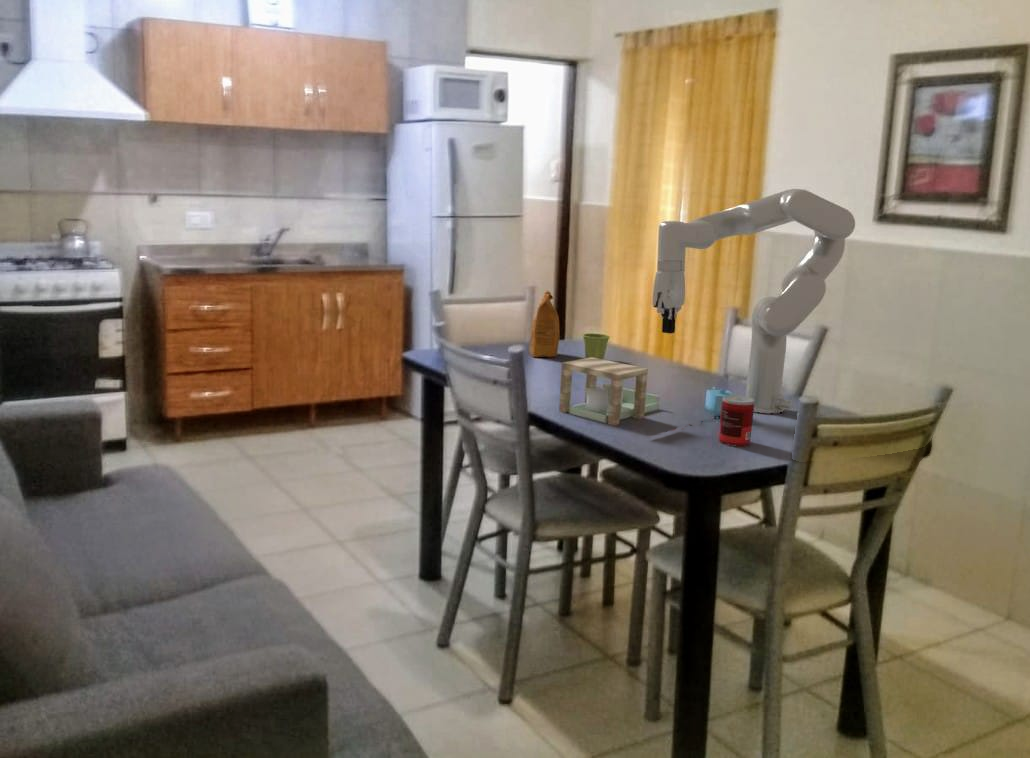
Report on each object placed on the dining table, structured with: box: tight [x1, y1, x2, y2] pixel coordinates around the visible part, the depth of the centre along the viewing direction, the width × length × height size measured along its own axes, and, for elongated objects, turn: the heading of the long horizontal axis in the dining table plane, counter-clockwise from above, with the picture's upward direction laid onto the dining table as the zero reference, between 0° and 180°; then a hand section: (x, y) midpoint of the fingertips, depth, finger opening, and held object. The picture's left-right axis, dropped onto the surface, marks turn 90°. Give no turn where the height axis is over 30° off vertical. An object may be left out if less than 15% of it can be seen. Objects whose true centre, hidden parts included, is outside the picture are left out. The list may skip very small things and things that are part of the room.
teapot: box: [704, 386, 736, 418], centre depth 266 cm, size 12×6×8 cm, turn 10°
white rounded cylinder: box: [586, 386, 608, 415], centre depth 254 cm, size 5×5×7 cm
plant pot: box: [581, 332, 611, 360], centre depth 335 cm, size 9×9×9 cm
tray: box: [568, 387, 661, 424], centre depth 260 cm, size 12×24×4 cm, turn 139°
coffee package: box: [529, 290, 561, 358], centre depth 337 cm, size 10×12×22 cm
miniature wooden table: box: [558, 357, 649, 427], centre depth 255 cm, size 18×13×14 cm
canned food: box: [718, 394, 755, 447], centre depth 238 cm, size 8×8×11 cm
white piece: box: [602, 383, 624, 414], centre depth 259 cm, size 5×5×7 cm
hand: (668, 332), depth 273 cm, fingers closed
